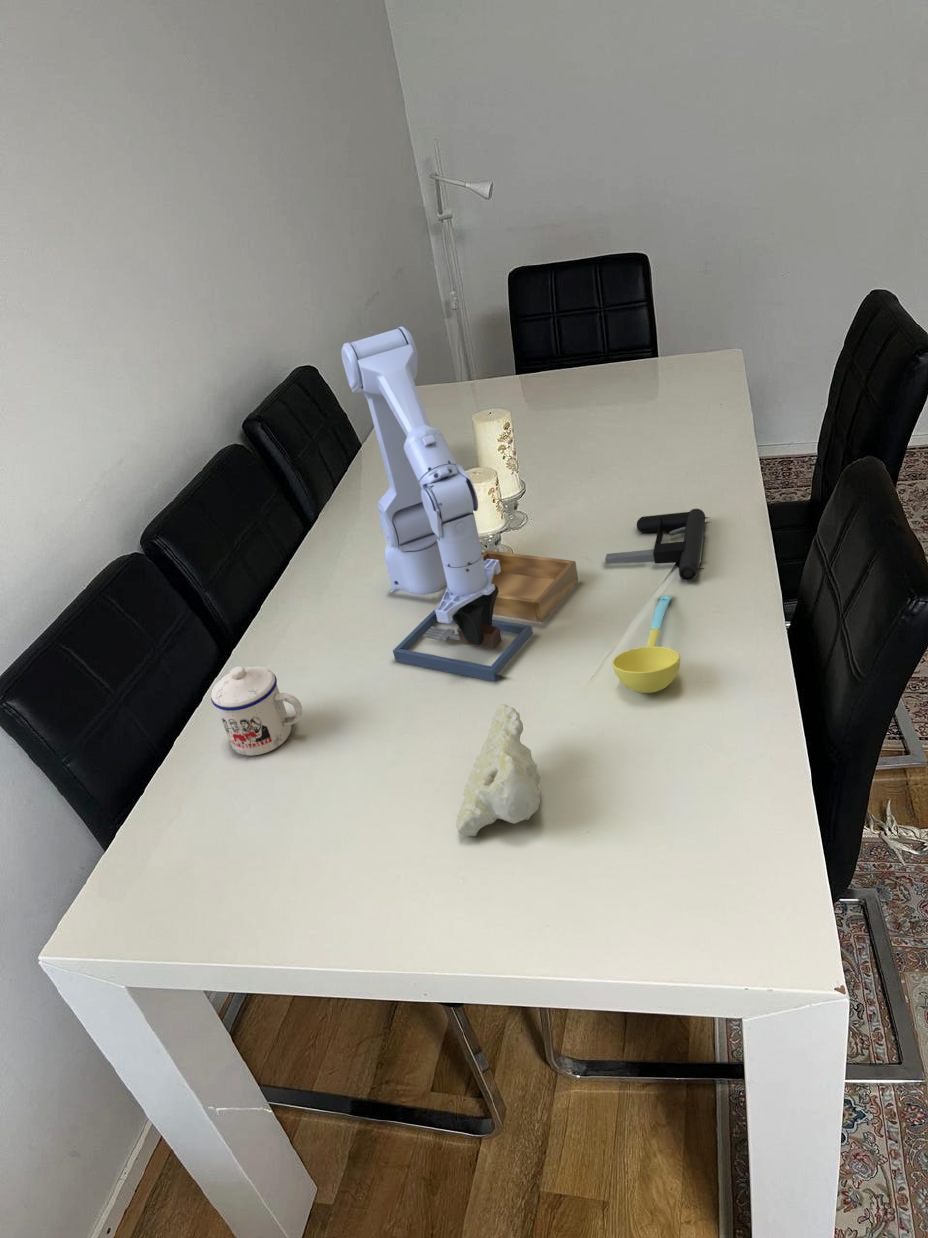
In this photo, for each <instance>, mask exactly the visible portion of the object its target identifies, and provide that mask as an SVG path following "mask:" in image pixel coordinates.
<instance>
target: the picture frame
mask: <svg viewBox="0 0 928 1238" xmlns="http://www.w3.org/2000/svg"><path fill="white" fill-rule="evenodd" d="M435 610H436V609H433V610H432V611H431V612H430V613H429V614H428V615H427V616H426V617H425V618H424V619H423V620H422V621H421V622H420V623H419V624H418V625H417V626H416V627H415V628H414V629H413V630H412V631H411V632H410V633H409V634H408V635H407V636H405V638H404V639H403V640H402V641H401V642H399V644H398V645H397V646H395V647H394V649H392V653H393V657H394V661H395V663H399V664H405V665H409V666H414V667H419V668H423V669H429V670H434V671H439V672H444V673H448V674H454V675H458V676H463V677H469V678H474V679H478V680H483V681H488V682H492V683H496V682H497V681H498V680H499V678H501V676H502V675H501V674H499V673H501V672H502V670H503V669H504V668H505V667H506V666H507V664H508V663H509V662H510V661H511V660H512V659H513V657H514V656H515V655H516V654H517V653H518V652H519V651H520V649H521V648H522V647H523V646H524V644H525V643H526V642H527V641H528V640H529V638H530V637H532V635H533V634H534V632H533V626H532V625H529V624H524V623H516V622H511V621H505V620H498V619H493V618H492V626H497V627H499V629H500V632H504V633H509V634H510V633H511V634H515V635H516V637H515V638H514V639H513V640H512V641H511V643H510V644H509V645H508V646H507V647H506V648H505V650H504V651H503V652H502V653H501V654H500V655H499V656H498V657H497V659H496V660H495V661H494V662H493V663H492V665H487V664H481V663H476V662H471V661H465V660H461V659H455V658H451V657H450V658H449V657H445V656H440V655H435V654H429V653H425V652H420V651H414V650H409V649H410V648H411V647H412V646H413V645H414V644H415V643H416V642H417V641H418V640H420V638H421V637H423V635H424V634H426V632H428V630H429V629H431V627H433V625H434V624H435V623H436V622H438V620H437V616H436V612H435ZM451 623H452V624H456V622H455V621H454V620H453V621H452V622H451ZM451 623H450V624H451Z"/></svg>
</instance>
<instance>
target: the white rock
mask: <svg viewBox="0 0 928 1238" xmlns="http://www.w3.org/2000/svg"><path fill="white" fill-rule="evenodd" d="M491 720H492V721H491V725H490V727H489V729H488V733H487V736H486V739H485V741H484V743H483V745H482V747H481V750H480V753H479V755H478V756H477V757H476V758H475V761H474V763H473V766H472V769H471V772H470V773H469V777H468V780H467V782H466V783H465V788H464V791H463V799H462V801H461V805H460V808H459V811H458V814H457V816H456V822H455V826H456V831H457V833H458V834H459V835H461V836H462V837H464V838H469V837H473V836H474V837H476V836H477V835H478V832H479V831H480V829H482V828H483V827H485V826H488V825H492V824H494V823H495V822H496V821H497V820H503V821H505V822H508V823H510V824H517V823H519V822H521V821H524V820H528V821H529V820H530V818H531V817H532V816H533V815H534V814H535V813H536V812H537V811H538V809H539V806H540V803H541V798H540V783H541V782H540V781H541V777H540V775H539V774H538V772H537V763H536V762H535V760H534V759H533V756H532V750H531V749H530V748H529V747H527V746H526V745H524V744H523V743H522V742H521V735H522V734H523V732H524V723H523V722H522V720H521V716H520V712H518V711H517V710H516V708H514V707H511V706H509V705H507V704H505V703H504V704H503V703H502V704H500V705H499V706H498V707H497V709H496V711H495V714H494V716H493V717H492V719H491Z"/></svg>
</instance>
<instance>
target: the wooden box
mask: <svg viewBox="0 0 928 1238" xmlns="http://www.w3.org/2000/svg"><path fill="white" fill-rule="evenodd" d="M482 555H483V560H484V561H486V560H487V559H494V560H499V563H500V568H501V572H500V573H499V574H494V576H493V579H492V582H491V584H494V585H496V586H497V587H498V591H499V593H498V595H497V597H496V600H495V604H494V609H493V616H499V617H506V618H512V619H518V620H522V621H523V620H524V621H530V622H535V623H536V622H537V623H541V624H542V623H543V622H544V621H545V620H546V619H547V618H548V617H549V616H550V614H551V613H552V612H553V611H554V609H555V608H556V607H557V606H558V605H559V604H560V603H561V601H562V600H563V599H564V598H565V597H566V595H567V594H569V592H570V591H571V590H572V589H573V587H574V586H575V585H576V584H577V583H578V582H579V576H578V569H577V562H576V560H569V559H564V558H563V559H562V558H552V557H545V556H538V555H537V556H536V555H529V554H522V553H521V554H519V553H512V552H504V551H496V550H485V551H484V552H482Z"/></svg>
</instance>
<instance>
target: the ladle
mask: <svg viewBox="0 0 928 1238" xmlns="http://www.w3.org/2000/svg"><path fill="white" fill-rule="evenodd" d="M671 599H672V596H671V595H663V596H661V597H660V598H659V600H658V603H657V604H656V608H655V611H654V614H653V617H652V622H651V625H650V629H649V630H650V631H649V636H648V640H647V643H646V644H647V645H646V646H642V647H641V646H640V647H636V648H632V649H628V650H625V651H623V652H621V653H619V654H618V655H616V656H615V657H614V658H613V660H612V668H613V671H614V674H615V676H616V677H617V679H618V680H619V682H620V683H621V684H622V685H623V686H625V687H626V688H628V689H629V690H631V691H633V692H636V693H643V694H652V693H656V692H658V691H662V690H664V689H666V688H667V687H668V686H669V685H671V683H672V682H673V681H674V680H675V678H677V677H676V676H677V675H678V673H679V670H680V666H681V665H680V664H681V655H680V653H679V652H677V650H675V649H672V648H670V647H663V646H657V641H658V638H659V633H660V631H661V628H662V623H663V620H664V618H665V613H666V611H667V609H668V606H669V604H670V602H671Z"/></svg>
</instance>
